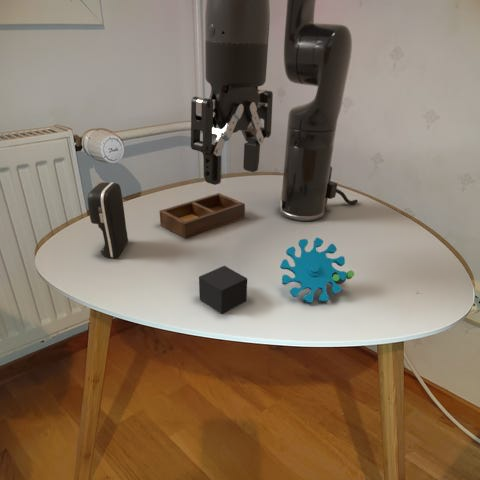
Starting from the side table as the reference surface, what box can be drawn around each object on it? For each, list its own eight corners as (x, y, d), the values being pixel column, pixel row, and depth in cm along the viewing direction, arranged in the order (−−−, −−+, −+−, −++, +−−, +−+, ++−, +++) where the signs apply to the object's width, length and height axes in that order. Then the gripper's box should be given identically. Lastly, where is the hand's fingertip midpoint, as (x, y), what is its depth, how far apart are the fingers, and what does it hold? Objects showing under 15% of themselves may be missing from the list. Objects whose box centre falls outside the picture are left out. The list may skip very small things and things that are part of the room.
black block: (224, 287, 65) (224, 265, 63) (246, 301, 62) (247, 278, 60) (199, 299, 62) (198, 276, 60) (221, 314, 59) (221, 290, 57)
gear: (275, 294, 61) (287, 229, 62) (271, 301, 67) (282, 242, 68) (349, 309, 61) (360, 244, 62) (338, 315, 67) (348, 256, 68)
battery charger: (109, 240, 77) (98, 178, 70) (129, 241, 77) (120, 179, 70) (95, 258, 72) (81, 192, 65) (116, 259, 71) (105, 194, 65)
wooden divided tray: (160, 225, 83) (159, 210, 81) (219, 206, 92) (218, 192, 90) (185, 239, 78) (184, 223, 77) (244, 218, 87) (245, 203, 85)
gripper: (222, 40, 43) (220, 195, 53) (295, 40, 53) (282, 172, 62) (171, 36, 47) (177, 181, 56) (247, 37, 56) (242, 161, 66)
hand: (232, 176), depth 59 cm, fingers open, 8 cm apart
